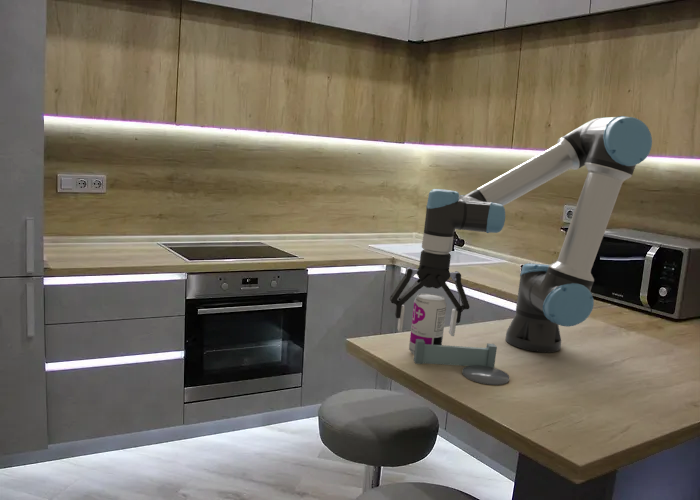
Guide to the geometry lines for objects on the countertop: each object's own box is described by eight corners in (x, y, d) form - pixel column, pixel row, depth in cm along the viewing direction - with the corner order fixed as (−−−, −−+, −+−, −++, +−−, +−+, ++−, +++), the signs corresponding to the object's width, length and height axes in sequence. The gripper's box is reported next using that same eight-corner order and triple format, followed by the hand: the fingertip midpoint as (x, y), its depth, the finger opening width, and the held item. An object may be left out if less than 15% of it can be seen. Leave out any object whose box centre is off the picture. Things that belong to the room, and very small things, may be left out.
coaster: (500, 369, 159) (501, 366, 159) (515, 386, 148) (515, 383, 148) (457, 366, 158) (457, 364, 158) (468, 383, 147) (469, 381, 147)
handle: (491, 364, 161) (494, 343, 160) (494, 368, 159) (496, 346, 158) (413, 360, 159) (416, 338, 159) (415, 363, 157) (417, 342, 156)
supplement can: (415, 359, 161) (422, 300, 158) (404, 348, 168) (410, 292, 166) (445, 358, 163) (452, 301, 160) (432, 348, 171) (439, 293, 168)
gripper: (480, 252, 166) (469, 331, 169) (385, 244, 163) (375, 324, 167) (489, 258, 158) (477, 340, 162) (389, 249, 156) (379, 333, 160)
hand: (425, 332), depth 165 cm, fingers open, 13 cm apart
